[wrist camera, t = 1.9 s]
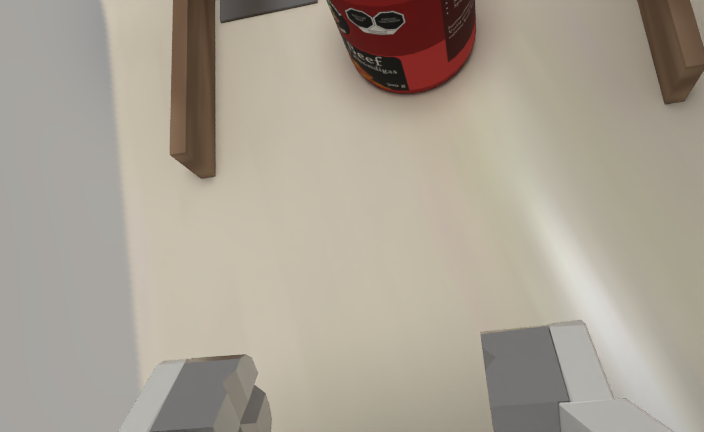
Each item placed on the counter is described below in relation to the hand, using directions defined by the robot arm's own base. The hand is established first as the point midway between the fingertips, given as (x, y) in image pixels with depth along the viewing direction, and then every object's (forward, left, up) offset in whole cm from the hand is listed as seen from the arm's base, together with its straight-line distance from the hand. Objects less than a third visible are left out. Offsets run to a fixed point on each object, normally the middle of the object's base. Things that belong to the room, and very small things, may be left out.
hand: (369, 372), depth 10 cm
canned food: (-11, -18, -24) cm, 32 cm away
